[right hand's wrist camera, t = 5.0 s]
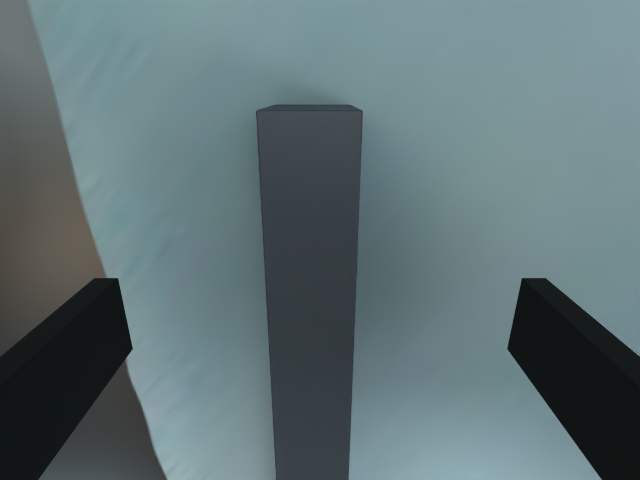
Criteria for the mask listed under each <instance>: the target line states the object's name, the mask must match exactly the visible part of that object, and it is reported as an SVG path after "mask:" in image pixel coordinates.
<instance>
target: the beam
mask: <svg viewBox="0 0 640 480" xmlns="http://www.w3.org/2000/svg"><path fill="white" fill-rule="evenodd" d="M362 115H363V112H362V110H360V109H358V108H356V107H354V106H351V105H273V106H270V107H266V108H263V109H260V110H257V111H256V117H257V135H258V153H259V172H260V190H261V208H262V227H263V245H264V263H265V282H266V300H267V318H268V337H269V355H270V373H271V392H272V410H273V428H274V447H275V465H276V480H349V454H350V428H351V402H352V376H353V350H354V324H355V298H356V272H357V246H358V220H359V194H360V168H361V141H362Z"/></svg>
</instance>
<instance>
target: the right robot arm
mask: <svg viewBox="0 0 640 480" xmlns="http://www.w3.org/2000/svg"><path fill="white" fill-rule="evenodd" d="M132 349H133V348H132V343H131V339H130V334H129V329H128V324H127V319H126V315H125V310H124V305H123V300H122V295H121V291H120V286H119V281H118V278H94V279H93V280H92V281H91V282H89V283H88V284H87V285H86V286H85V287H83V288H82V289H81V290H80V291H79V292H77V293H76V294H75V295H74V296H73V297H71V298H70V299H69V300H68V301H67V302H65V303H64V304H63V305H62V306H61V307H59V308H58V309H57V310H56V311H55V312H53V313H52V314H51V315H50V316H49V317H47V318H46V319H45V320H44V321H43V322H41V323H40V324H39V325H38V326H37V327H35V328H34V329H33V330H32V331H31V332H29V333H28V334H27V335H26V336H25V337H24V338H22V339H21V340H20V341H19V342H18V343H16V344H15V345H14V346H13V347H12V348H10V349H9V350H8V351H7V352H6V353H4V354H3V355H2V356H1V357H0V480H38V479H39V478H40V476H41V475H42V474H43V472H44V471H45V469H46V468H47V467H48V465H49V464H50V463H51V461H52V460H53V458H54V457H55V456H56V454H57V453H58V451H59V450H60V449H61V447H62V446H63V444H64V443H65V442H66V440H67V439H68V438H69V436H70V435H71V433H72V432H73V431H74V429H75V428H76V427H77V425H78V424H79V422H80V421H81V420H82V418H83V417H84V416H85V414H86V413H87V411H88V410H89V409H90V407H91V406H92V404H93V403H94V402H95V400H96V399H97V397H98V396H99V395H100V393H101V392H102V391H103V389H104V388H105V386H106V385H107V384H108V382H109V381H110V380H111V378H112V377H113V375H114V374H115V373H116V371H117V370H118V369H119V367H120V366H121V364H122V363H123V362H124V360H125V359H126V357H127V356H128V355H129V353H130V352H131V351H132ZM507 349H508V351H509V352H510V353H511V355H512V356H513V357H514V359H515V360H516V362H517V363H518V364H519V366H520V367H521V369H522V370H523V371H524V373H525V374H526V375H527V377H528V378H529V380H530V381H531V382H532V384H533V385H534V386H535V388H536V389H537V391H538V392H539V393H540V395H541V396H542V398H543V399H544V400H545V402H546V403H547V404H548V406H549V407H550V409H551V410H552V411H553V413H554V414H555V416H556V417H557V418H558V420H559V421H560V422H561V424H562V425H563V427H564V428H565V429H566V431H567V432H568V434H569V435H570V436H571V438H572V439H573V440H574V442H575V443H576V445H577V446H578V447H579V449H580V450H581V451H582V453H583V454H584V456H585V457H586V458H587V460H588V461H589V463H590V464H591V465H592V467H593V468H594V469H595V471H596V472H597V474H598V475H599V476H600V478H601V479H602V480H640V357H639V356H638V355H637V354H636V353H635V352H633V351H632V350H631V349H630V348H629V347H627V346H626V345H625V344H624V343H623V342H621V341H620V340H619V339H618V338H617V337H615V336H614V335H613V334H612V333H611V332H609V331H608V330H607V329H606V328H605V327H603V326H602V325H601V324H600V323H599V322H597V321H596V320H595V319H594V318H593V317H591V316H590V315H589V314H588V313H587V312H585V311H584V310H583V309H582V308H581V307H579V306H578V305H577V304H576V303H575V302H573V301H572V300H571V299H570V298H569V297H567V296H566V295H565V294H564V293H563V292H561V291H560V290H559V289H558V288H557V287H555V286H554V285H553V284H552V283H551V282H549V281H548V280H547V279H546V278H522V281H521V286H520V291H519V295H518V300H517V305H516V310H515V315H514V319H513V324H512V329H511V334H510V339H509V343H508V348H507Z"/></svg>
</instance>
